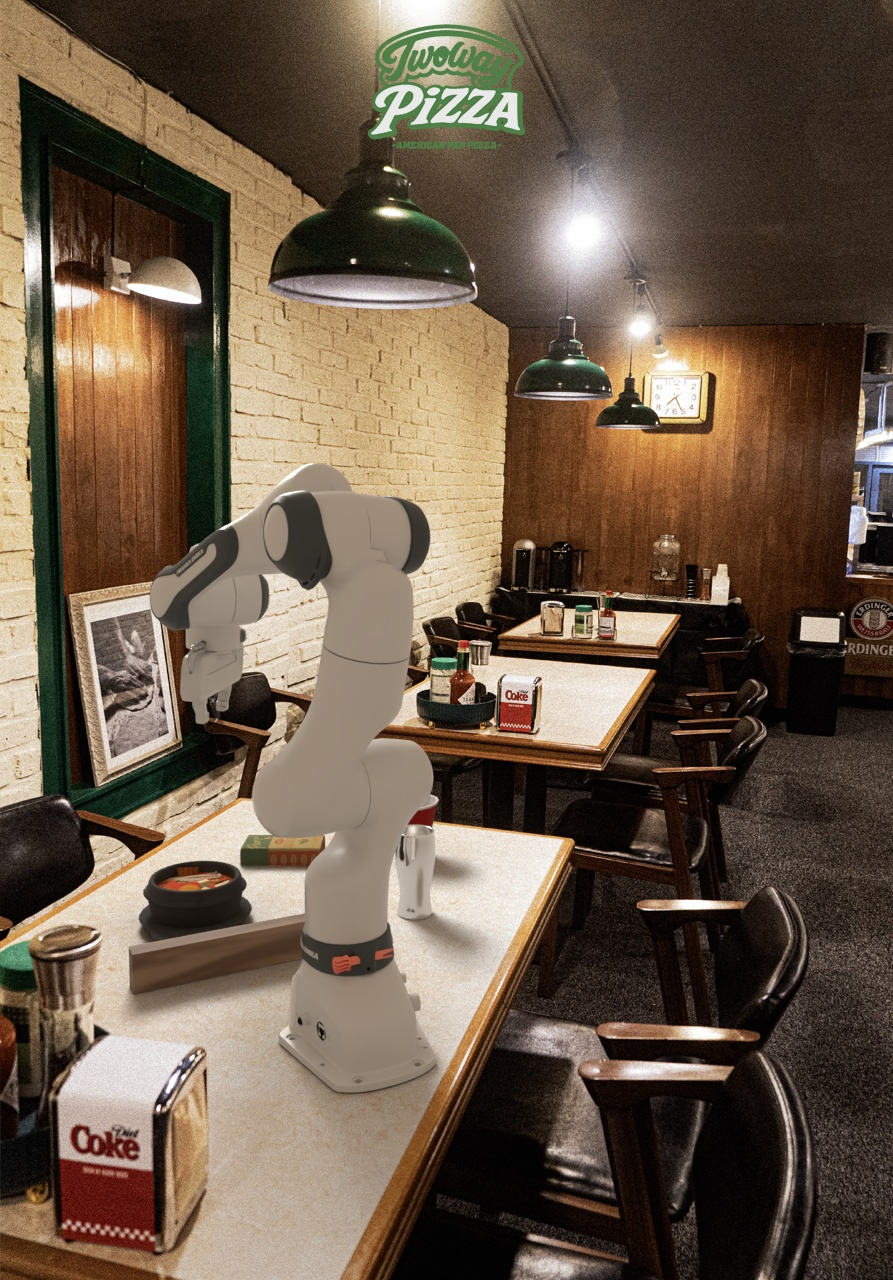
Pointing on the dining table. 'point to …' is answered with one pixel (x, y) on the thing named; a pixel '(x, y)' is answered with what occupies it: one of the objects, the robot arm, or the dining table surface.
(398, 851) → the beer glass
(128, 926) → the dining table surface
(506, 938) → the dining table surface
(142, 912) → the casserole
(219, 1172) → the dining table surface
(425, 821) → the plastic cup
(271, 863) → the carton
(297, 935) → the walnut board
